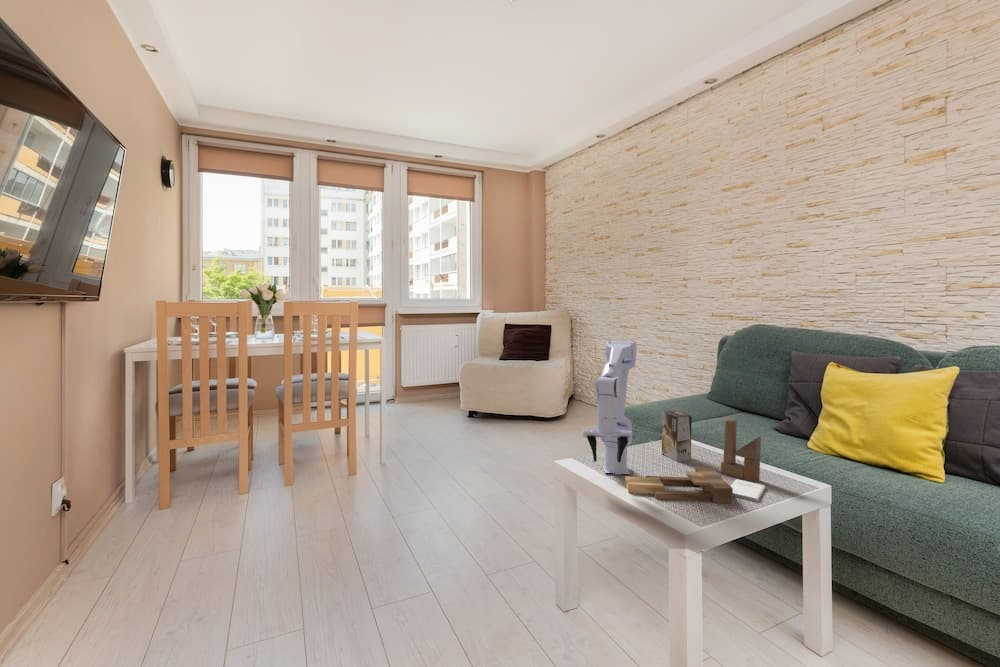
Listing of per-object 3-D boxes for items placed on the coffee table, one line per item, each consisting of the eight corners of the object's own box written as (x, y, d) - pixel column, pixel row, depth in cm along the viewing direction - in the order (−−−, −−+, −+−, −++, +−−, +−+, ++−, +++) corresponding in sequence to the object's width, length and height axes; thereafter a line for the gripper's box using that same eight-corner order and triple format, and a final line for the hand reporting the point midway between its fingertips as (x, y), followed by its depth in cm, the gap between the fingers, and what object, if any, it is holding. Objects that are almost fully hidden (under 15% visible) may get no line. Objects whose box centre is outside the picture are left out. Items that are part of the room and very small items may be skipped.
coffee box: (692, 460, 164) (693, 415, 163) (677, 461, 162) (677, 417, 161) (675, 452, 173) (675, 410, 172) (660, 453, 171) (661, 411, 170)
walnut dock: (644, 479, 146) (644, 466, 146) (711, 481, 144) (711, 468, 144) (656, 500, 130) (657, 485, 130) (732, 503, 128) (732, 488, 128)
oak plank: (625, 485, 142) (625, 476, 142) (658, 487, 141) (658, 477, 141) (628, 493, 136) (628, 484, 136) (663, 495, 135) (663, 485, 135)
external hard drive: (725, 496, 134) (735, 483, 144) (757, 504, 129) (765, 490, 139) (725, 491, 134) (735, 478, 144) (757, 498, 129) (765, 484, 139)
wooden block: (755, 483, 143) (756, 426, 142) (720, 473, 151) (721, 419, 150) (759, 480, 145) (761, 424, 144) (725, 470, 153) (727, 417, 152)
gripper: (584, 419, 135) (583, 464, 136) (634, 420, 133) (633, 466, 134) (582, 413, 142) (581, 456, 143) (630, 414, 140) (629, 458, 141)
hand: (606, 460), depth 139 cm, fingers open, 6 cm apart
